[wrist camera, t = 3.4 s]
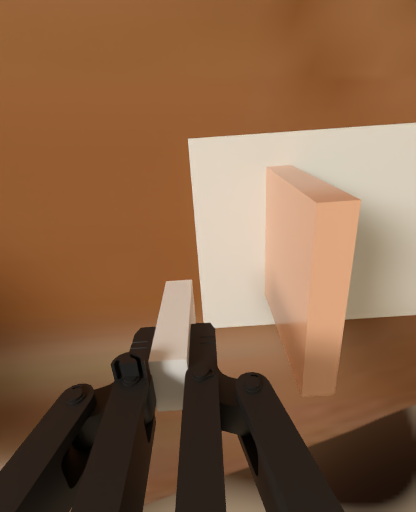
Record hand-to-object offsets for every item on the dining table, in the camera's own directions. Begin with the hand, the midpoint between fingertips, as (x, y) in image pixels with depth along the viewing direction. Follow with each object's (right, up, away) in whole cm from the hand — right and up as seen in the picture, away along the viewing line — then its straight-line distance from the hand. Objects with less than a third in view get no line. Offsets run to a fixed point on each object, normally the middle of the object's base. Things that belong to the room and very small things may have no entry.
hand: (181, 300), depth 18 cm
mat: (+12, +4, +10) cm, 16 cm away
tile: (+8, +4, +9) cm, 13 cm away
